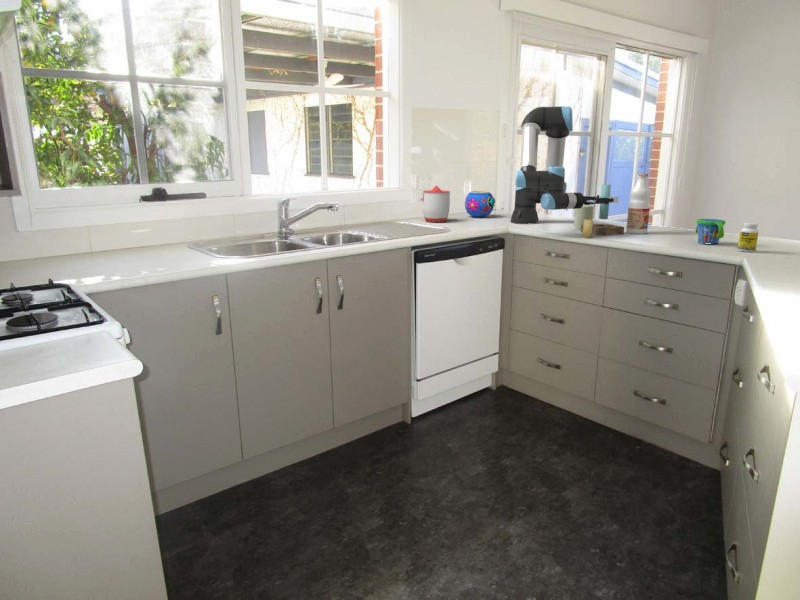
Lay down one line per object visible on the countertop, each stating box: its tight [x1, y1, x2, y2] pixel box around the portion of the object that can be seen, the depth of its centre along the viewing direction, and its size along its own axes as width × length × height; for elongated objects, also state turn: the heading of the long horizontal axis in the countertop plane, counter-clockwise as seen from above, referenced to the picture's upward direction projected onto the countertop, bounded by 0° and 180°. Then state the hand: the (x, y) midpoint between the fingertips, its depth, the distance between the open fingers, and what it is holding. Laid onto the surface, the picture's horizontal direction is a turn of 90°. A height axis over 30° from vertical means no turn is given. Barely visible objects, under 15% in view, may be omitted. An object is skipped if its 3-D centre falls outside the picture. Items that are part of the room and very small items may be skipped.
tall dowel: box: [598, 184, 612, 220], centre depth 267 cm, size 4×4×16 cm
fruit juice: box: [626, 173, 652, 235], centre depth 268 cm, size 9×9×28 cm
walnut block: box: [580, 222, 625, 236], centre depth 271 cm, size 14×14×4 cm
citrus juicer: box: [419, 185, 451, 223], centre depth 313 cm, size 16×17×20 cm
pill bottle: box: [737, 222, 759, 253], centre depth 221 cm, size 6×6×11 cm
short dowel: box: [581, 219, 594, 239], centre depth 257 cm, size 4×4×8 cm
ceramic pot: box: [464, 190, 496, 218], centre depth 334 cm, size 18×18×15 cm
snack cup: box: [695, 218, 726, 245], centre depth 239 cm, size 16×10×10 cm
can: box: [573, 204, 595, 230], centre depth 286 cm, size 9×9×12 cm
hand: (614, 199), depth 268 cm, fingers closed on tall dowel, 4 cm apart
